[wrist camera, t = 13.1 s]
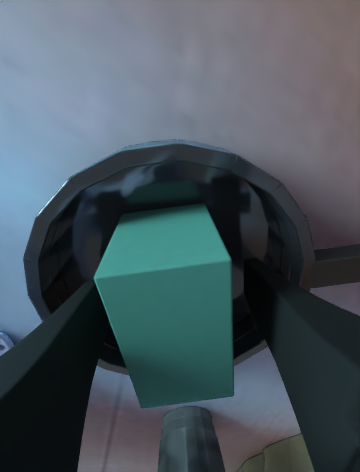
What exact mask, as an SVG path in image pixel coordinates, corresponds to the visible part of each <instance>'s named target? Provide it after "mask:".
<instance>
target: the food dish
mask: <svg viewBox="0 0 360 472" xmlns="http://www.w3.org/2000/svg"><path fill="white" fill-rule="evenodd" d="M263 452H264V453H262V454H260V455H258V456H255V457H252V458H251V459H249V460H247V461H246V462H245V463H244V465H243V467H242V468H241V469H240V470H239V471H238V472H314V469H313V466H312V463H311V460H310V457H309V454H308V451H307V448H306V445H305V442H304V438H303V436H302V433H301V434H299V435H297V436H294V437H290V438H287V439H285V440H282V441H280V442H277V443H275V444H272V445H270V446H268V447H266V448H265V449H264V450H263Z"/></svg>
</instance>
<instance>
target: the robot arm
mask: <svg viewBox="0 0 360 472" xmlns="http://www.w3.org/2000/svg"><path fill="white" fill-rule="evenodd" d="M244 294H245V297H246V300H247V303H248V306H249V309H250V311H251V313H252V315H253V317H254V319H255V321H256V323H257V325H258V327H259V329H260V331H261V333H262V335H263V337H264V339H265V341H266V343H267V345H268V347H269V349H270V351H271V353H272V355H273V358H274V360H275V362H276V365H277V367H278V370H279V372H280V375H281V378H282V380H283V383H284V385H285V388H286V391H287V394H288V396H289V399H290V402H291V404H292V407H293V410H294V413H295V416H296V418H297V421H298V424H299V427H300V430H301V433H302V436H303V438H304V442H305V445H306V448H307V451H308V454H309V457H310V460H311V463H312V466H313V469H314V472H360V316H359V315H356V314H354V313H351V312H349V311H347V310H344V309H342V308H340V307H338V306H335V305H333V304H331V303H329V302H327V301H325V300H323V299H321V298H319V297H317V296H315V295H313V294H312V293H310V292H308V291H306V290H305V289H303V288H301V287H299V286H298V285H296V284H295V283H293V282H291V281H290V280H288V279H287V278H285V277H284V276H282V275H281V274H279V273H278V272H276V271H275V270H273V269H272V268H270V267H269V266H267V265H266V264H265V263H263V262H262V261H260V260H259V259H257V258H251V259H244ZM108 322H109V318H108V316H107V313H106V310H105V307H104V305H103V302H102V299H101V296H100V294H99V291H98V288H97V285H96V283H95V280H89V281H86V282H85V283H84V284H83V285H82V286H81V287H80V288H79V289H78V290H77V291H76V292H75V293H74V294H73V295H72V296H71V297H70V298H69V299H67V300H66V301H65V302H64V303H63V304H62V305H61V306H60V307H59V308H58V309H57V310H56V311H55V312H54V313H53V314H52V315H50V316H49V317H48V318H47V319H46V320H45V321H44V322H43V323H42V324H40V325H39V326H38V327H37V328H36V329H35V330H33V331H32V332H31V333H30V334H29V335H27V336H26V337H25V338H24V339H22V340H21V341H20V342H18V343H17V344H16V345H14V344H13V342H12V341H11V339H10V338H9V336H8V335H7V334H5V333H4V332H0V472H77V469H78V462H79V455H80V448H81V441H82V435H83V429H84V423H85V417H86V411H87V406H88V400H89V395H90V390H91V385H92V381H93V377H94V373H95V370H96V367H97V363H98V360H99V356H100V353H101V350H102V346H103V343H104V339H105V336H106V332H107V328H108Z"/></svg>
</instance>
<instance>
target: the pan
mask: <svg viewBox="0 0 360 472" xmlns="http://www.w3.org/2000/svg"><path fill="white" fill-rule="evenodd" d="M199 203H205V205H206V207H207V209H208V212H209V214H210V216H211V218H212V220H213V222H214V224H215V226H216V228H217V230H218V232H219V234H220V236H221V238H222V241H223V243H224V245H225V247H226V249H227V251H228V253H229V255H230V257H231V259H232V304H233V360H234V365H237V364H240V363H241V362H243V361H245V360H246V359H248V358H250V357H251V356H253V355H255V354H256V353H258V352H260V351H261V350H263V349H265V348H266V347H267V346H268V345H267V343H266V341H265V339H264V337H263V335H262V333H261V331H260V329H259V327H258V325H257V323H256V321H255V319H254V317H253V315H252V313H251V311H250V309H249V306H248V303H247V300H246V297H245V294H244V259H251V258H257V259H259V260H260V261H262V262H263V263H265V264H266V265H267V266H269V267H270V268H272V269H273V270H275V271H276V272H278V273H279V274H281V275H282V276H284V277H285V278H287V279H288V280H290V281H291V282H293V283H295V284H296V285H298V286H299V287H301V288H303V289H305V290H306V291H308V292H310V282H311V277H312V271H313V269H312V268H313V267H312V266H313V265H314V263H315V252H314V247H313V242H312V238H311V233H310V228H309V224H308V220H307V217H306V216H305V215H304V213H303V212H302V210H301V209H300V208H299V206H298V205H297V203H296V202H295V201H294V199H293V198H292V196H291V195H290V194H289V192H288V191H287V189H286V188H285V187H284V185H283V184H282V183H281V182H280V181H279V180H277V179H275V178H274V177H272V176H271V175H269V174H268V173H266V172H264V171H263V170H261V169H260V168H258V167H256V166H255V165H253V164H252V163H250V162H248V161H247V160H245V159H244V158H242V157H240V156H239V155H237V154H235V153H232V152H230V151H228V150H226V149H224V148H219V147H214V146H210V145H206V144H201V143H197V142H192V141H185V140H180V139H178V140H177V139H173V140H165V141H152V142H147V143H142V144H136V145H129V146H126V147H124V148H122V149H120V150H118V151H116V152H114V153H113V154H111V155H109V156H107V157H105V158H103V159H101V160H99V161H97V162H95V163H93V164H92V165H90V166H88V167H86V168H84V169H83V170H81V171H79V172H78V173H76V174H74V175H73V176H71V177H70V178H69V179H67V180H66V182H65V183H64V184H63V185H62V186H61V187H60V189H59V190H58V191H57V192H56V193H55V194H54V196H53V197H52V198H51V199H50V200H49V201H48V203H47V204H46V205H45V206H44V207H43V208H42V209H41V211H40V212H39V213H38V214H37V216H36V218H35V221H34V224H33V228H32V231H31V234H30V237H29V241H28V244H27V247H26V251H25V254H24V258H23V261H24V269H25V276H26V284H27V292H28V296H29V298H30V300H31V302H32V304H33V306H34V307H35V309H36V311H37V313H38V315H39V316H40V318H41V320H42V322H44V321H45V320H46V319H47V318H48V317H49V316H50V315H52V314H53V313H54V312H55V311H56V310H57V309H58V308H59V307H60V306H61V305H62V304H63V303H64V302H65V301H66V300H67V299H69V298H70V297H71V296H72V295H73V294H74V293H75V292H76V291H77V290H78V289H79V288H80V287H81V286H82V285H83V284H84V283H85V282H86V281H89V280H94V276H95V274H96V271H97V269H98V267H99V265H100V262H101V260H102V258H103V256H104V254H105V251H106V249H107V247H108V245H109V242H110V240H111V238H112V236H113V234H114V231H115V229H116V227H117V225H118V222H119V220H120V218H121V216H122V214H125V213H132V212H140V211H147V210H155V209H162V208H169V207H177V206H184V205H192V204H199ZM97 366H99V367H101V368H104V369H106V370H110V371H113V372H117V373H121V374H125V375H129V373H128V370H127V368H126V365H125V362H124V359H123V357H122V354H121V351H120V348H119V346H118V343H117V340H116V337H115V335H114V332H113V329H112V327H111V324H110V321H109V322H108V328H107V332H106V336H105V339H104V343H103V346H102V350H101V353H100V356H99V360H98V363H97Z"/></svg>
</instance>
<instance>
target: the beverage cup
mask: <svg viewBox="0 0 360 472" xmlns="http://www.w3.org/2000/svg"><path fill="white" fill-rule="evenodd" d="M158 472H225V468H224V463H223V459H222V455H221V451H220V446H219V442H218V438H217V436H216V433H215V429H214V425H213V422H212V416H211V414H210V412H208V411H207V410H206V409H203V408H200V407H194V406H189V407H181V408H177V409H174V410H172V411H170V412H169V413H167V414H166V415H165V416H164V418H163V428H162V434H161V441H160V449H159V462H158Z"/></svg>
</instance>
